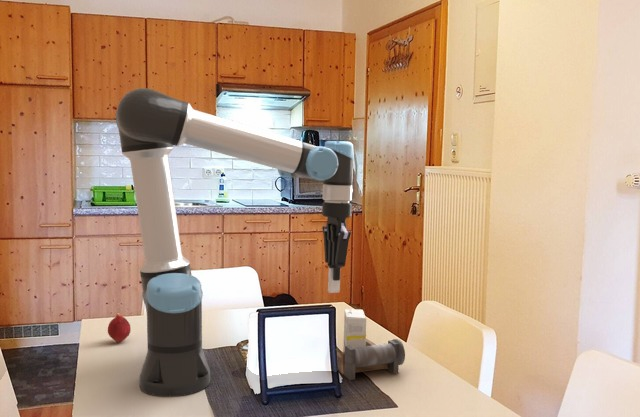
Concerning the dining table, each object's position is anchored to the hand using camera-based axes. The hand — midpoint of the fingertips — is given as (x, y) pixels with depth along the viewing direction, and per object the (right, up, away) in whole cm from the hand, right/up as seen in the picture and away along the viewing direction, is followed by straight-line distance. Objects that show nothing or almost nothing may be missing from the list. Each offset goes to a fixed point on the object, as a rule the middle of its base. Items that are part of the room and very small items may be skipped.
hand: (333, 291), depth 158 cm
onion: (-57, -14, +4) cm, 59 cm away
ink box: (+5, -16, -7) cm, 18 cm away
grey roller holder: (+6, -16, -10) cm, 20 cm away
